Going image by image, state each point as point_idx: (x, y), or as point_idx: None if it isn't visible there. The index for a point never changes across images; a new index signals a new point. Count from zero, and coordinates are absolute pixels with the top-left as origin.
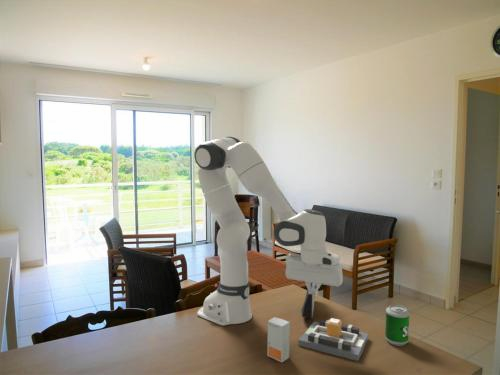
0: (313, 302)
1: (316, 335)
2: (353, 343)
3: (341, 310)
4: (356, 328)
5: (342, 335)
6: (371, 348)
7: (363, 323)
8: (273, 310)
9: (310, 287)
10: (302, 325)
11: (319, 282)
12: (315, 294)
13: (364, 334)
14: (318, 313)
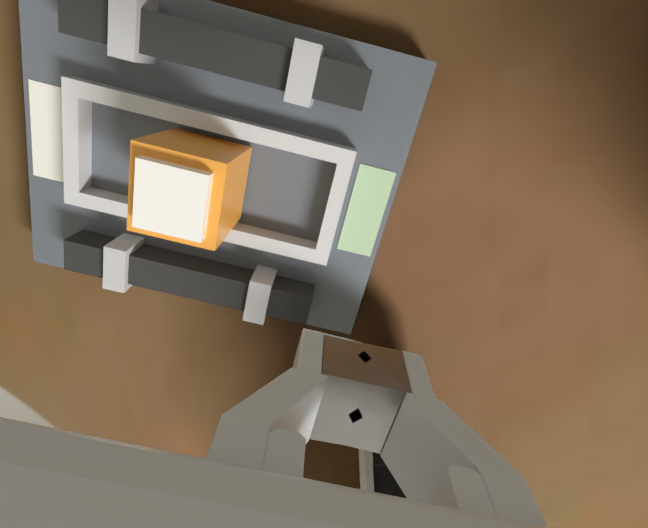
0: (361, 449)
1: (309, 68)
2: (67, 84)
3: None
4: (77, 261)
5: None
6: (15, 151)
7: (112, 398)
8: (578, 440)
9: (406, 445)
10: (413, 317)
11: (160, 477)
12: (316, 332)
13: (51, 247)
14: (337, 450)
